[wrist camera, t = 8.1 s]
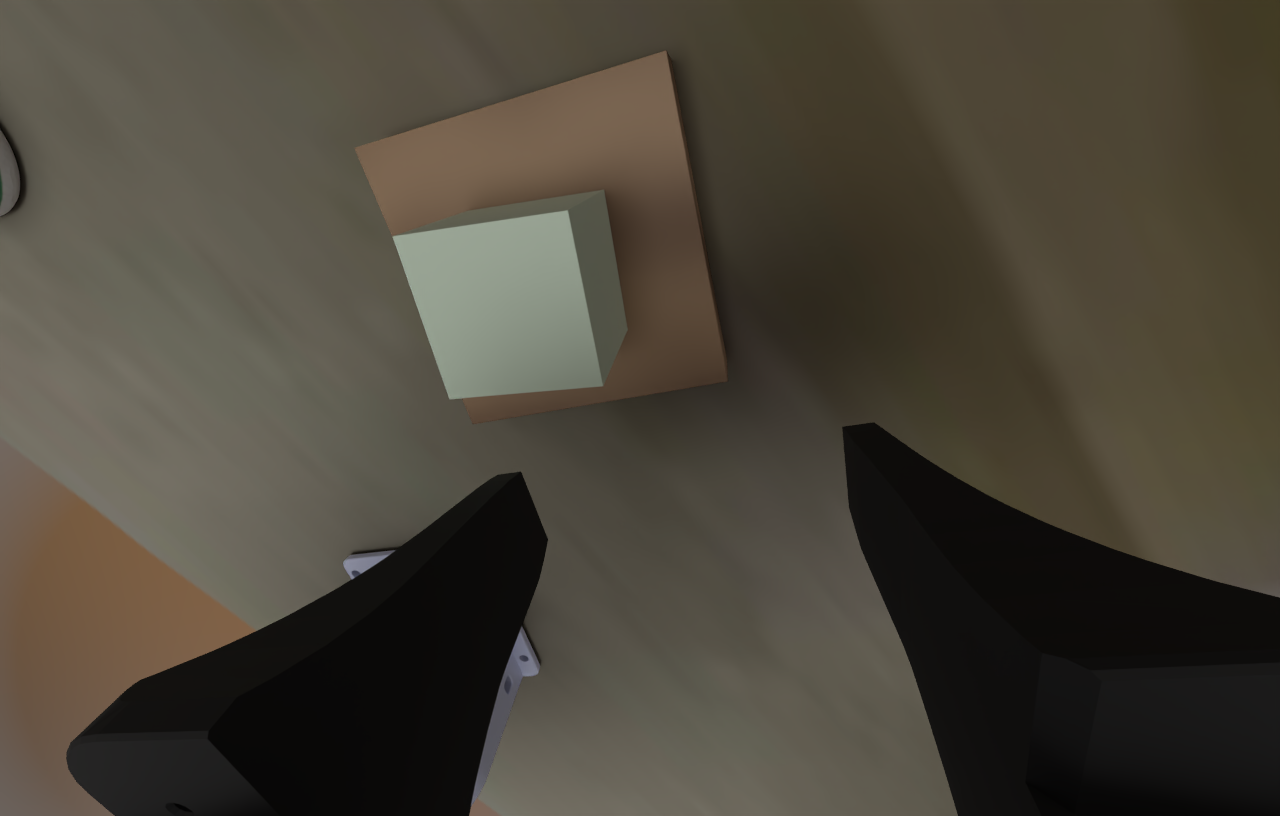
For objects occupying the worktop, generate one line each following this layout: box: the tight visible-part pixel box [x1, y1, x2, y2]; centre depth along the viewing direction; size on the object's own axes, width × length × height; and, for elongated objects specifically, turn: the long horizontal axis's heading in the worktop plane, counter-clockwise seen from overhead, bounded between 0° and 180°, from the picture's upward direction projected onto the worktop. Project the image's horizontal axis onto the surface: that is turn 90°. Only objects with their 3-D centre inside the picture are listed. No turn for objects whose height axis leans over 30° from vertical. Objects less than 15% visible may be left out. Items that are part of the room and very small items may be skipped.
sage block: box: [393, 190, 628, 399], centre depth 16 cm, size 4×4×4 cm
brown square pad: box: [355, 51, 728, 424], centre depth 19 cm, size 10×10×2 cm
